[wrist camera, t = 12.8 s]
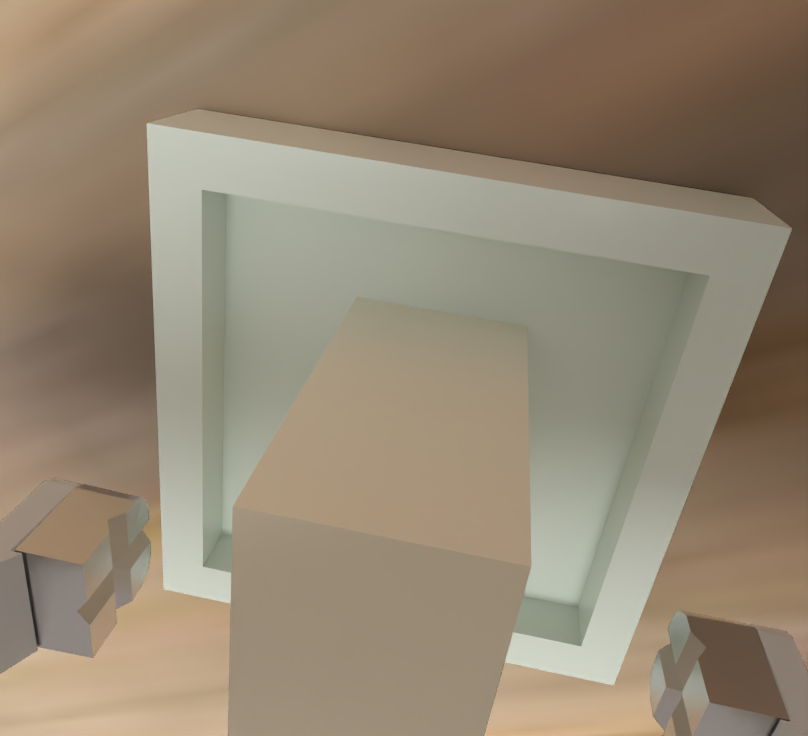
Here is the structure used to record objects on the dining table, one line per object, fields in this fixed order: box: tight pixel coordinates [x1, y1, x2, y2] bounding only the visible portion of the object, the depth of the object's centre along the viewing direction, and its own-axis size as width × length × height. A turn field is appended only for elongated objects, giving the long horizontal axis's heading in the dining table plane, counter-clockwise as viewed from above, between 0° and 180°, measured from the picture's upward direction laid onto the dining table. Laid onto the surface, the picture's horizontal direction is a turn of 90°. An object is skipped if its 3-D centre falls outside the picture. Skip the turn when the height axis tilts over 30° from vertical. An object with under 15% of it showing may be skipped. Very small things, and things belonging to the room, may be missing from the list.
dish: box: [147, 109, 792, 685], centre depth 15 cm, size 11×11×2 cm
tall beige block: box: [228, 297, 531, 736], centre depth 12 cm, size 4×5×7 cm
